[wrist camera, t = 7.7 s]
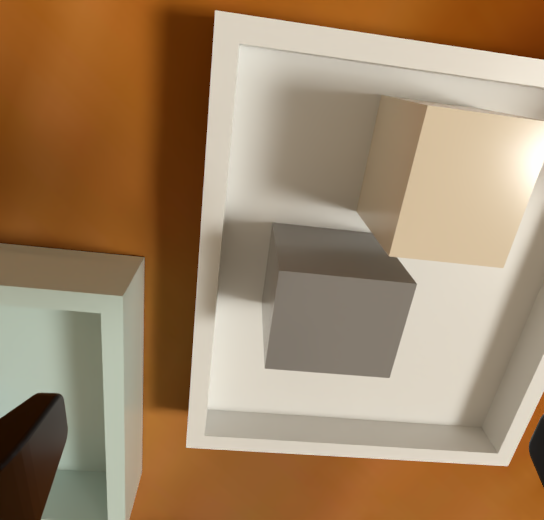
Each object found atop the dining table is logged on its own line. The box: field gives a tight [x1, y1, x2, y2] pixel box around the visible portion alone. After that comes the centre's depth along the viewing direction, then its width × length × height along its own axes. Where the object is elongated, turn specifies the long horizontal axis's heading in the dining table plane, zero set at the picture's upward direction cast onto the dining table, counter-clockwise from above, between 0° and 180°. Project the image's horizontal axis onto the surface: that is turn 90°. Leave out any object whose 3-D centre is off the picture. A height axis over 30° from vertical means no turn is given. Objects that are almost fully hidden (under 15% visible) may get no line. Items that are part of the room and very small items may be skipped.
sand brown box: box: [356, 95, 544, 268], centre depth 15 cm, size 4×4×5 cm
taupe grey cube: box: [262, 222, 417, 378], centre depth 17 cm, size 4×4×5 cm
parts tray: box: [186, 10, 544, 466], centre depth 19 cm, size 18×16×2 cm
